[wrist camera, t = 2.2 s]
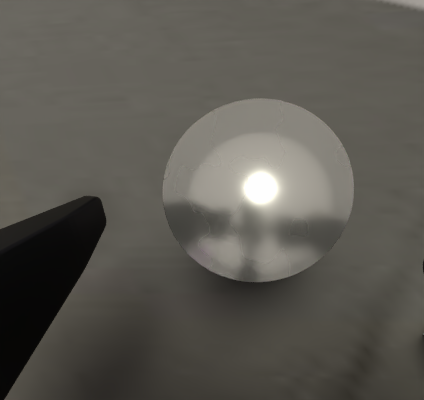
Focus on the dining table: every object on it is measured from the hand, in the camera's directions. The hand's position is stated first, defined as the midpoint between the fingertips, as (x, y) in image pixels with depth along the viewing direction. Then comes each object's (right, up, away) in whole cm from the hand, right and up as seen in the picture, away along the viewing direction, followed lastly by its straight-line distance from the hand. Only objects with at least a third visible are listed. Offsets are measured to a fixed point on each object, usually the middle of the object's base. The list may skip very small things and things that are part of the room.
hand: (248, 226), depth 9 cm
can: (+2, -1, +9) cm, 9 cm away
